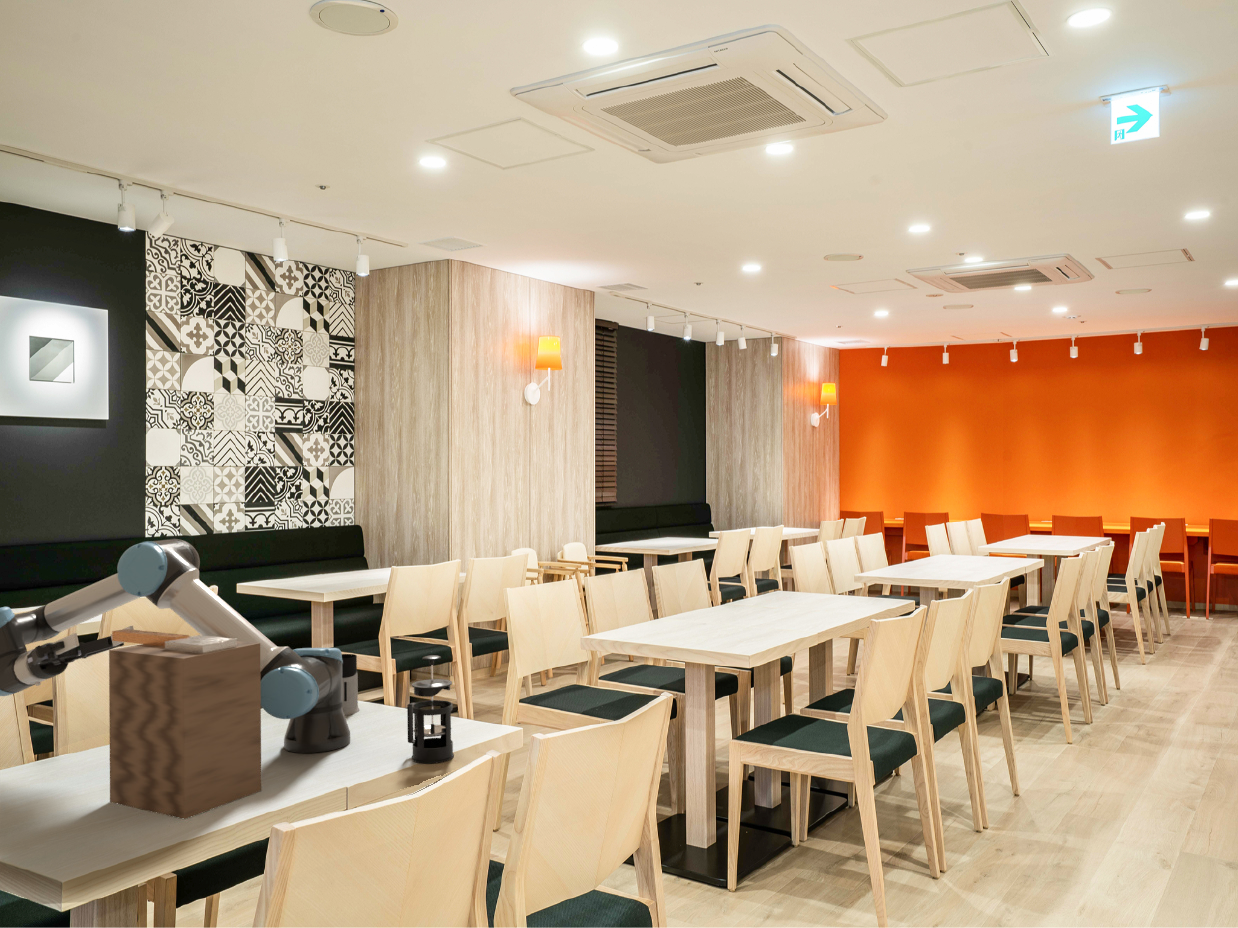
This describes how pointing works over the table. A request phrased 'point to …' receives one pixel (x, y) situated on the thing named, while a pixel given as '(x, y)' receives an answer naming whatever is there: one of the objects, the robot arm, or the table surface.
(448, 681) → the french press
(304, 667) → the robot arm
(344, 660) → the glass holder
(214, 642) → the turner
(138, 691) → the walnut stand
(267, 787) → the table surface
